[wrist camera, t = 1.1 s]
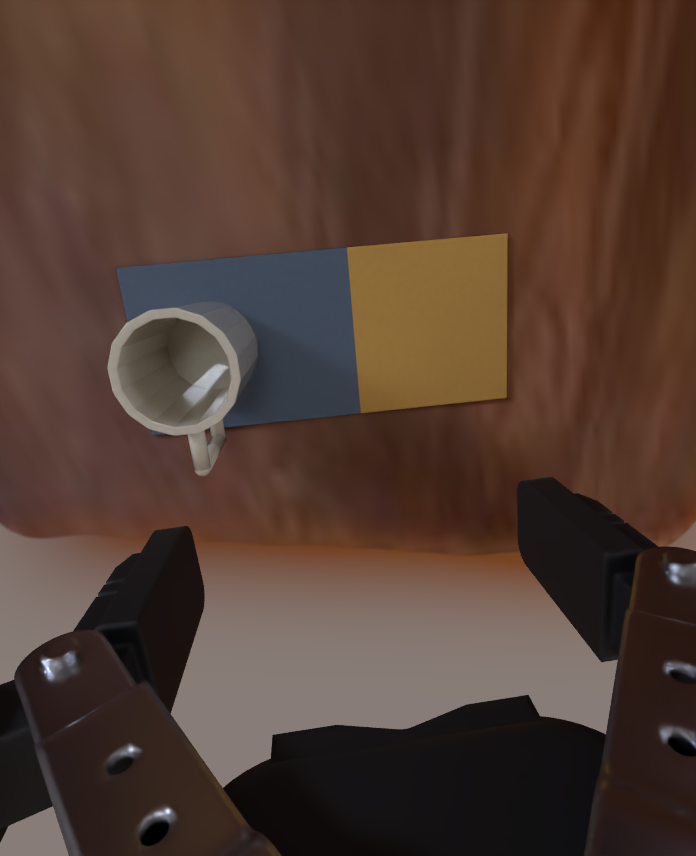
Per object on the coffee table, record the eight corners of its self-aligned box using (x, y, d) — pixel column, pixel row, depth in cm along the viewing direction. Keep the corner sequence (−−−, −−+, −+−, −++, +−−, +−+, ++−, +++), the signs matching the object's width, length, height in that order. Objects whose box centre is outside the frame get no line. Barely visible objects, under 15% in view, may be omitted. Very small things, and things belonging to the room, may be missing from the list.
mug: (155, 305, 32) (94, 315, 23) (251, 296, 32) (228, 302, 23) (181, 439, 34) (136, 496, 25) (269, 430, 35) (256, 482, 26)
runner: (117, 268, 31) (115, 268, 31) (506, 233, 32) (507, 233, 32) (152, 434, 34) (151, 435, 34) (505, 397, 36) (506, 397, 35)
